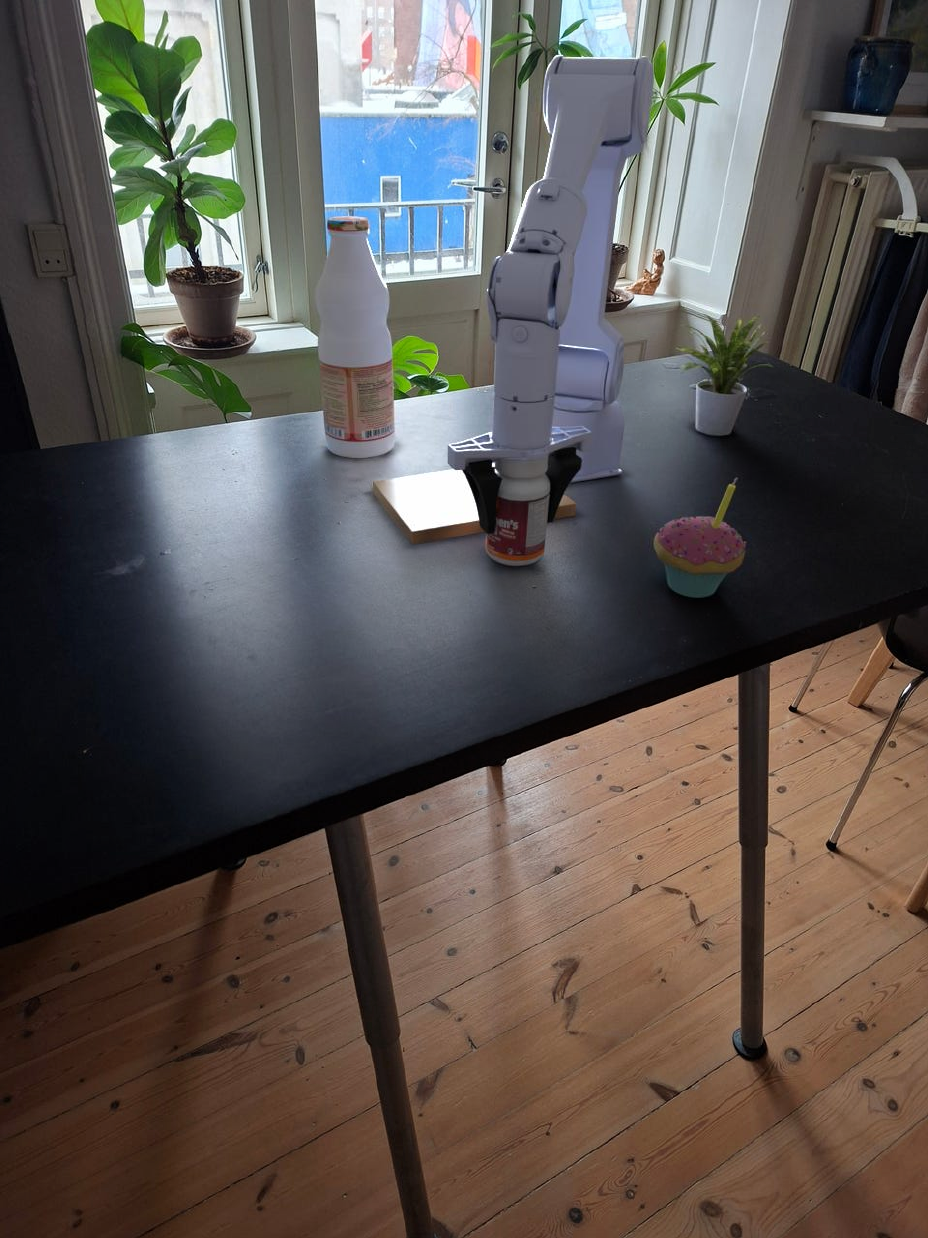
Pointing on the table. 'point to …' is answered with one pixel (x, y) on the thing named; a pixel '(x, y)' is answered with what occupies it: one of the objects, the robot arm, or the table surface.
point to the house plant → (722, 377)
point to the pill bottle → (520, 512)
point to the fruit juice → (354, 345)
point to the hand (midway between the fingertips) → (516, 524)
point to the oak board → (437, 505)
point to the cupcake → (699, 551)
